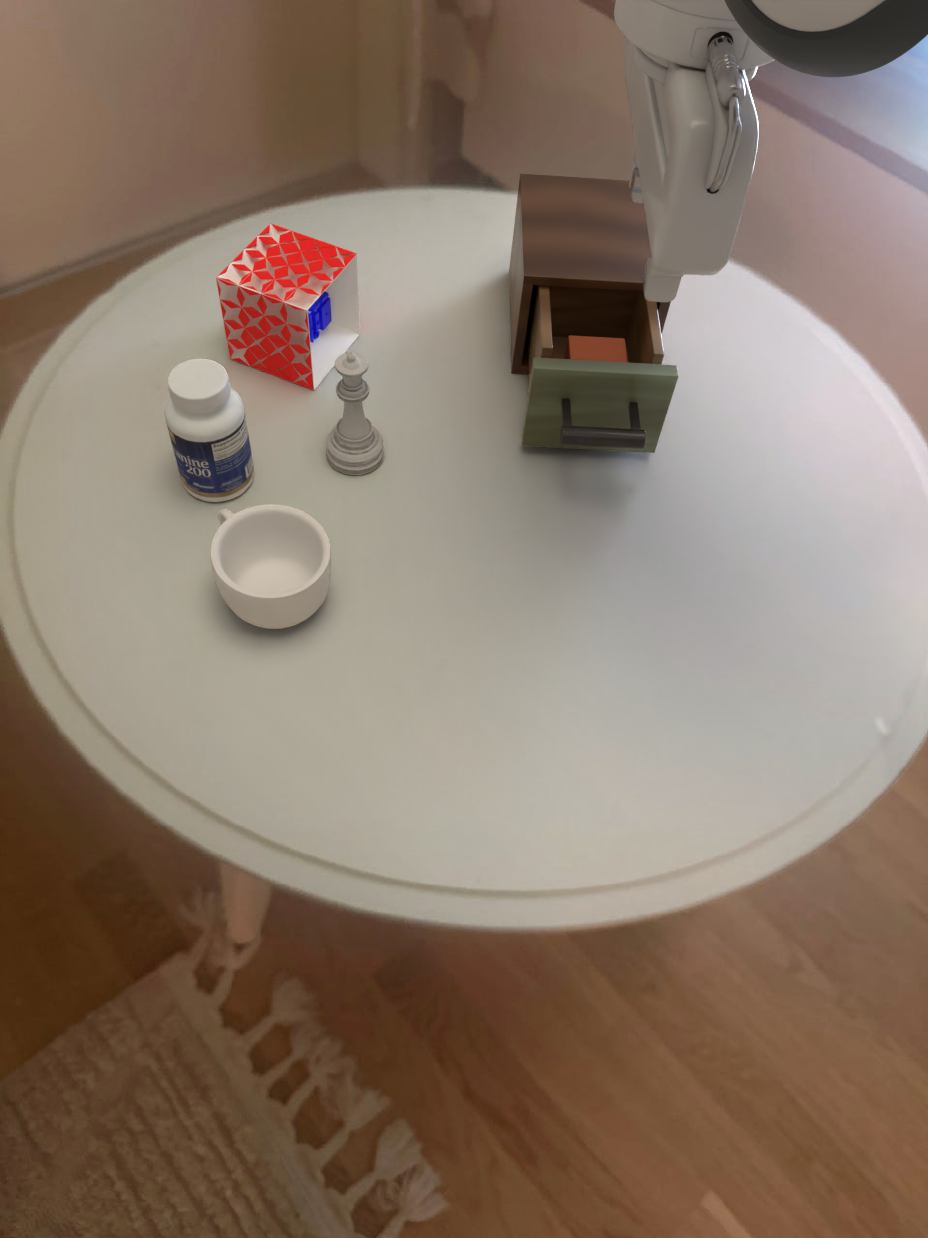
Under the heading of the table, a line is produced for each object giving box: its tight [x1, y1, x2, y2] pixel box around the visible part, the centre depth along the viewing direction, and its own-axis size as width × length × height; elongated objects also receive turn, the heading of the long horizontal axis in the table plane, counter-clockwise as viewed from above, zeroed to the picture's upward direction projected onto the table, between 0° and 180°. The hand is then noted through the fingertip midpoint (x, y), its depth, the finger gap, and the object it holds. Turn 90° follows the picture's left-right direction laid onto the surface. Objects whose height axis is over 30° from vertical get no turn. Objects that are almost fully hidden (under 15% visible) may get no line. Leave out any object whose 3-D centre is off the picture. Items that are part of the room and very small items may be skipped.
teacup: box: [209, 503, 333, 630], centre depth 66 cm, size 10×8×5 cm
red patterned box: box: [215, 223, 361, 391], centre depth 79 cm, size 8×8×8 cm
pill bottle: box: [164, 358, 255, 503], centre depth 70 cm, size 5×5×10 cm
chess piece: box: [325, 351, 385, 476], centre depth 72 cm, size 4×4×10 cm
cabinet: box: [508, 173, 672, 375], centre depth 82 cm, size 14×12×10 cm
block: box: [564, 335, 628, 363], centre depth 76 cm, size 4×4×4 cm
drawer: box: [521, 285, 679, 454], centre depth 75 cm, size 17×10×8 cm, turn 179°
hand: (649, 243), depth 58 cm, fingers open, 8 cm apart
